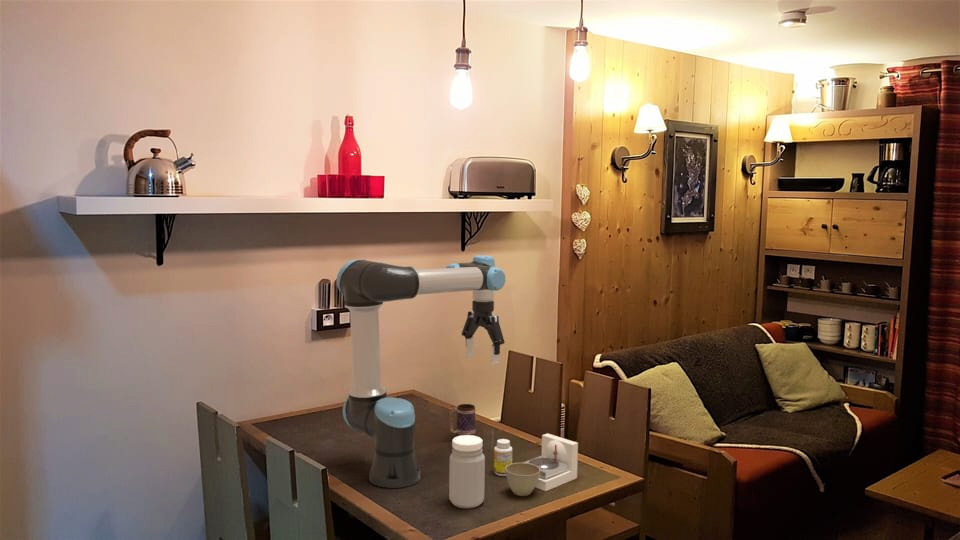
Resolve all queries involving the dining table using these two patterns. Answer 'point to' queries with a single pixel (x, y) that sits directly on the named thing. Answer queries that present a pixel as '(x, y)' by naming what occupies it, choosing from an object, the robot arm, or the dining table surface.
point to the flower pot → (522, 477)
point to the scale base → (562, 453)
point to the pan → (548, 466)
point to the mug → (464, 420)
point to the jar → (467, 472)
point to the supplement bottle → (502, 456)
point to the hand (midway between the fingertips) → (482, 360)
